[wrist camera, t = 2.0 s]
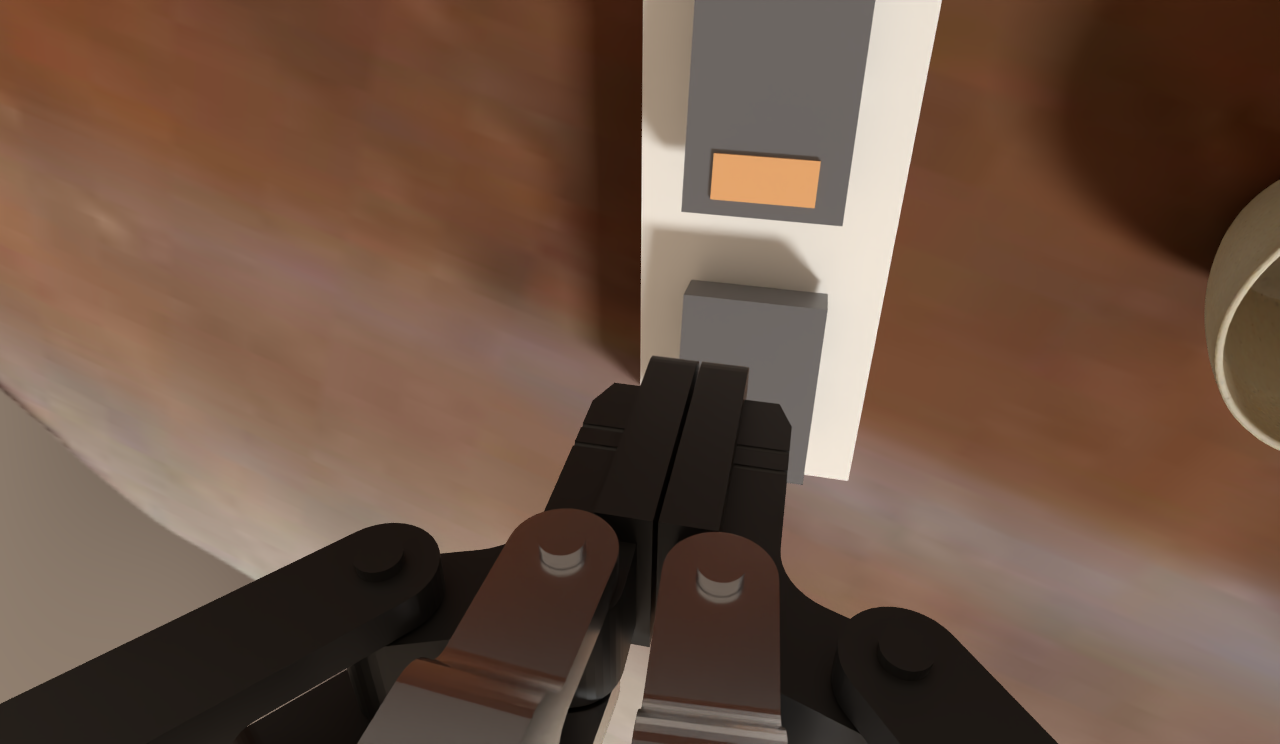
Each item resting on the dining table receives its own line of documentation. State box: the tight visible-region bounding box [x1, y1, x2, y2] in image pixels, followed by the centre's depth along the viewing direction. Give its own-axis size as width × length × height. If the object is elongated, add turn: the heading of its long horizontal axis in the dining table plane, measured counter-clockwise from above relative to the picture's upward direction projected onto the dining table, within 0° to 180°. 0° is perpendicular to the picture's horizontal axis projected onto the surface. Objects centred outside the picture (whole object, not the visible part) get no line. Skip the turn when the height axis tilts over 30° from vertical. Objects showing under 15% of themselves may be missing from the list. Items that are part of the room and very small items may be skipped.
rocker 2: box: [679, 280, 828, 485], centre depth 31 cm, size 5×7×2 cm
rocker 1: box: [681, 0, 875, 226], centre depth 25 cm, size 5×7×2 cm
